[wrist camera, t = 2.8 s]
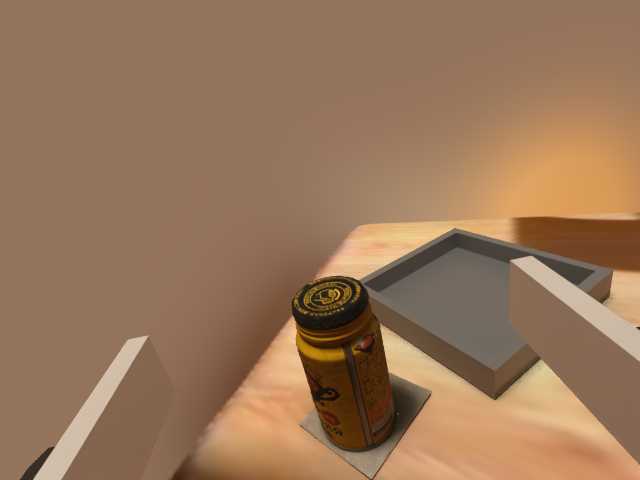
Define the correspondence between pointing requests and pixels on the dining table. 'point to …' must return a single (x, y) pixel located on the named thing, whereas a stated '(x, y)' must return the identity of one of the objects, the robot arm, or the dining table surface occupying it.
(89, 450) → the robot arm
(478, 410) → the dining table surface
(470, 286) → the tray
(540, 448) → the dining table surface
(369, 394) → the condiment
